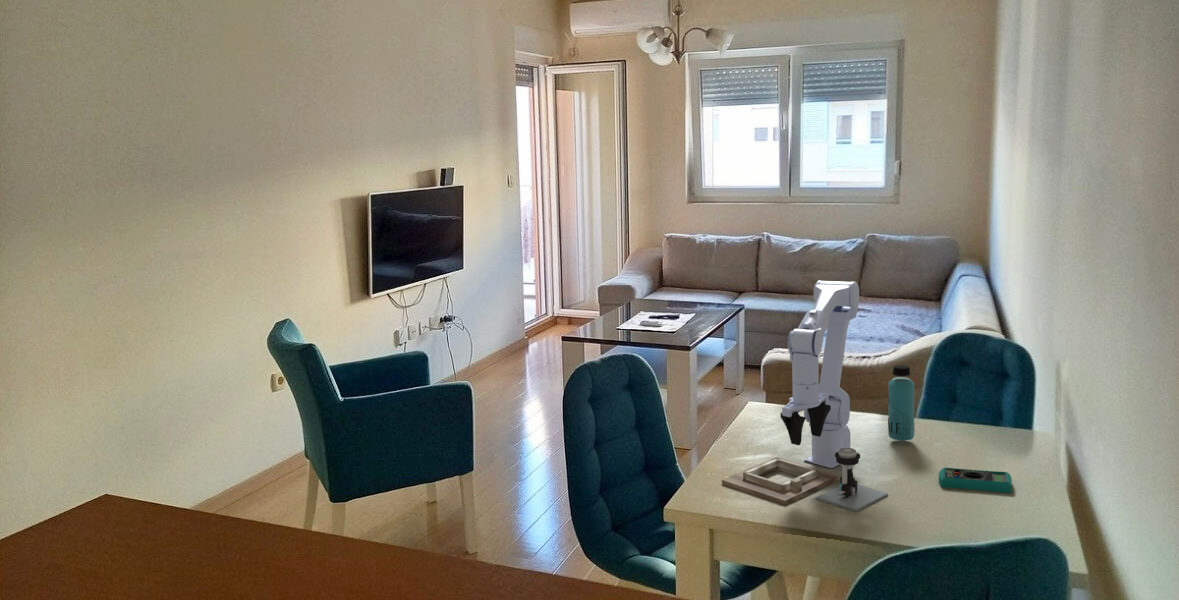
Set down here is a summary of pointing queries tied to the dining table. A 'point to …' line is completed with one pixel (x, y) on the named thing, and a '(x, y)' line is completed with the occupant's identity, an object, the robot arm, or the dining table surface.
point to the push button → (847, 471)
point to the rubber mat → (853, 498)
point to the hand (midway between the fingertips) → (806, 439)
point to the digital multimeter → (975, 480)
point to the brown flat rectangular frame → (777, 491)
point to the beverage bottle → (901, 405)
